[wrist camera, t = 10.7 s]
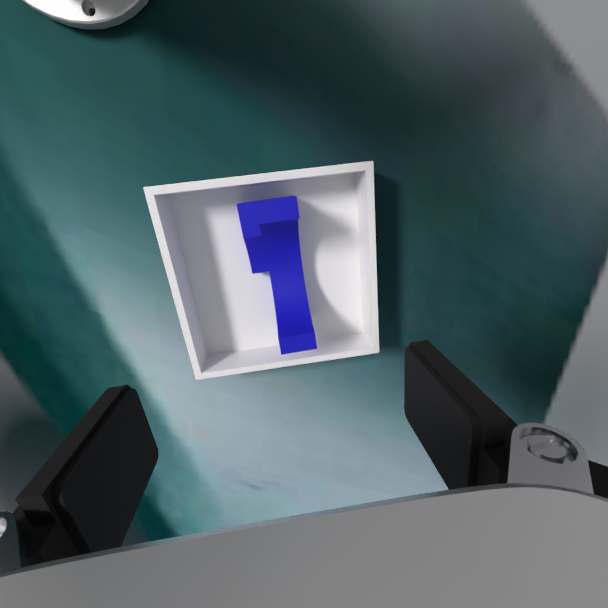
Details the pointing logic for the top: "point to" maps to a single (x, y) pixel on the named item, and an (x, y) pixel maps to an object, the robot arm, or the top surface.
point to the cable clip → (280, 266)
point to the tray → (257, 287)
